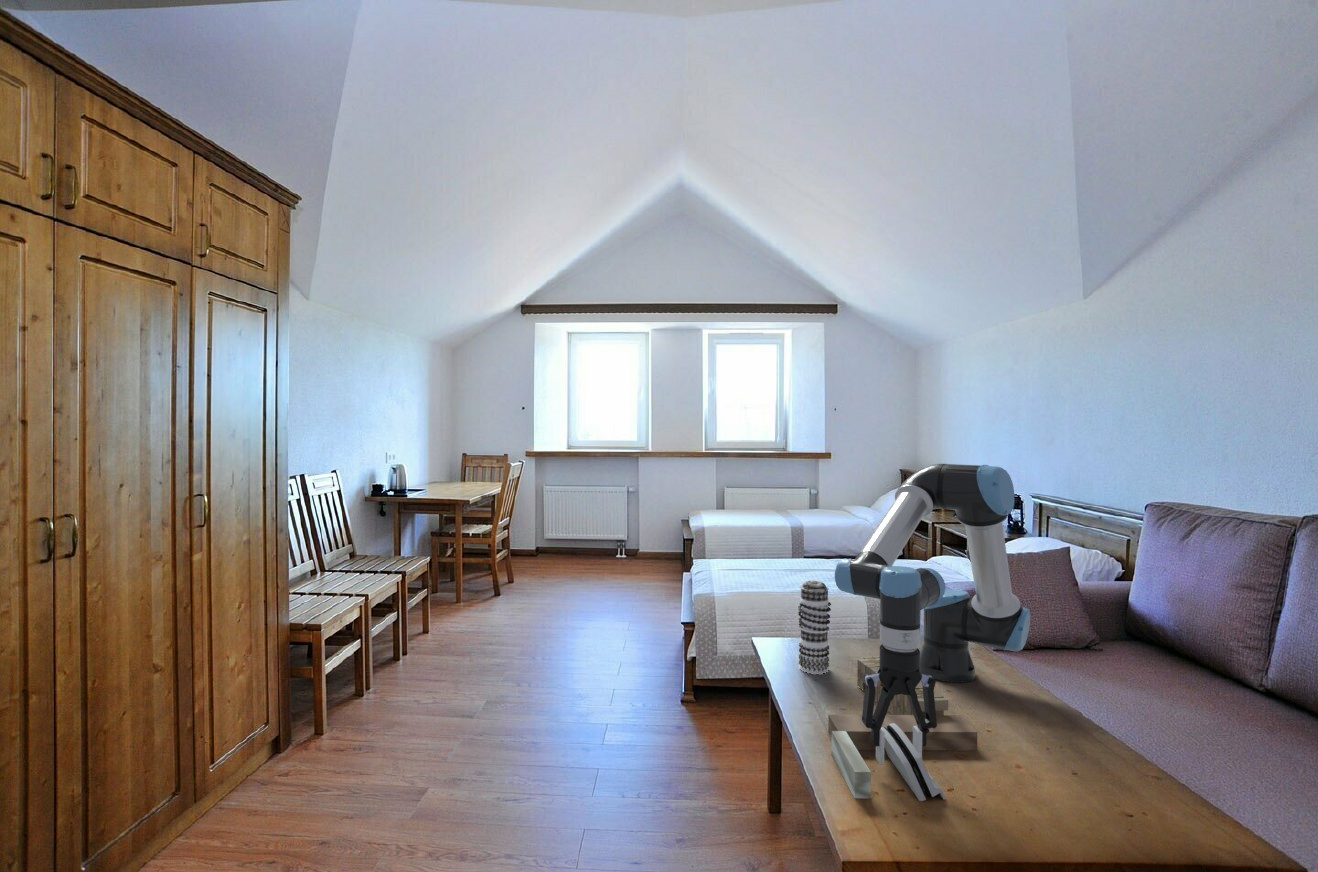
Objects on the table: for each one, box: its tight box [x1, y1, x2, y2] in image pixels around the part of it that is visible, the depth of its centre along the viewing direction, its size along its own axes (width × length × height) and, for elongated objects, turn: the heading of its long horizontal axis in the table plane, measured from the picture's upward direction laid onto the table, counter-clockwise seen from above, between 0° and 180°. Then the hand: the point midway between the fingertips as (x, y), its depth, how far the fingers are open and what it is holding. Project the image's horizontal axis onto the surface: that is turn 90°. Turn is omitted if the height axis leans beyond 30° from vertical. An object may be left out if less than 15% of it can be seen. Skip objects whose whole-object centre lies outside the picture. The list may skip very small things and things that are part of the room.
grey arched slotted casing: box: [881, 723, 947, 802], centre depth 126 cm, size 17×5×10 cm, turn 0°
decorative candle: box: [797, 580, 832, 675], centre depth 182 cm, size 9×9×25 cm
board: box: [827, 714, 978, 799], centre depth 132 cm, size 32×26×5 cm
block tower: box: [856, 655, 949, 715], centre depth 158 cm, size 8×8×29 cm
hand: (898, 761), depth 126 cm, fingers open, 7 cm apart
